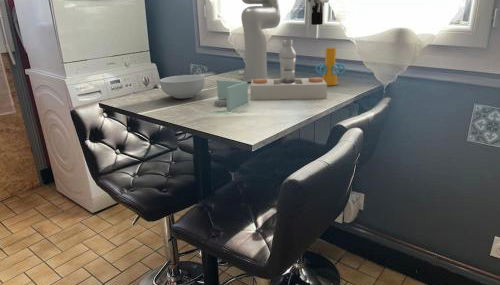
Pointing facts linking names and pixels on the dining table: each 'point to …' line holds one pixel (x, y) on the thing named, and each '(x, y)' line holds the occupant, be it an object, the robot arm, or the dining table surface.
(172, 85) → the cereal bowl
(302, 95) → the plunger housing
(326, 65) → the orange post blue wheels
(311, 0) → the robot arm
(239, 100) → the right angle wall
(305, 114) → the dining table surface
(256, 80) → the chicken egg
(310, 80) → the brown egg
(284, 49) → the gray metal bottle
